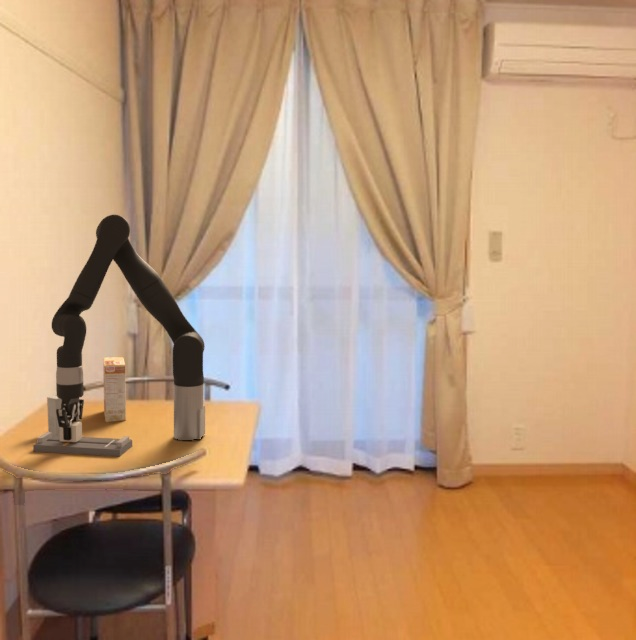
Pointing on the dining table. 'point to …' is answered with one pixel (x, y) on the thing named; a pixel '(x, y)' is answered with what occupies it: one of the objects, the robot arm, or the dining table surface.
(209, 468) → the dining table surface
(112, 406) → the coffeecake box
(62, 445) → the fader board
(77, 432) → the fader knob
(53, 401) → the skincare box
